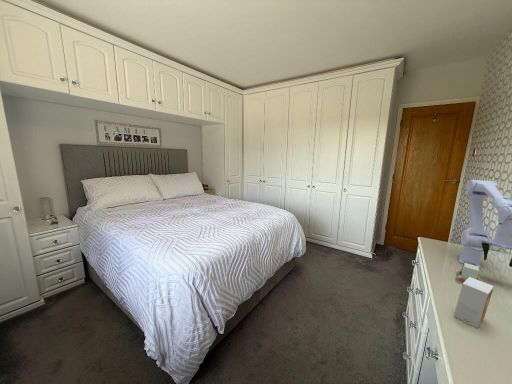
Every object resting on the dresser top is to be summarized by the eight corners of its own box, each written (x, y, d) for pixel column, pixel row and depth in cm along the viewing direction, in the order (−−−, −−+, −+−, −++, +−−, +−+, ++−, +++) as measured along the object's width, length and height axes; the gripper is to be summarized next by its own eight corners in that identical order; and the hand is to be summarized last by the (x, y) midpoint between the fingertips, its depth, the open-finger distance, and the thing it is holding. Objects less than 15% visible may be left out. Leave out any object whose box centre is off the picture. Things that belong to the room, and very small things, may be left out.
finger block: (460, 275, 99) (464, 262, 98) (474, 280, 96) (478, 266, 95) (460, 280, 95) (464, 266, 94) (475, 285, 92) (479, 270, 91)
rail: (456, 268, 107) (458, 258, 106) (478, 275, 102) (481, 264, 100) (455, 281, 96) (458, 270, 94) (480, 290, 90) (484, 278, 89)
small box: (478, 329, 70) (488, 294, 67) (453, 316, 75) (461, 283, 72) (484, 319, 74) (494, 285, 71) (460, 307, 79) (468, 276, 77)
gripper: (482, 231, 94) (474, 259, 97) (534, 242, 84) (524, 273, 87) (481, 227, 99) (474, 254, 102) (530, 237, 89) (521, 266, 92)
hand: (497, 262), depth 95 cm, fingers open, 7 cm apart
